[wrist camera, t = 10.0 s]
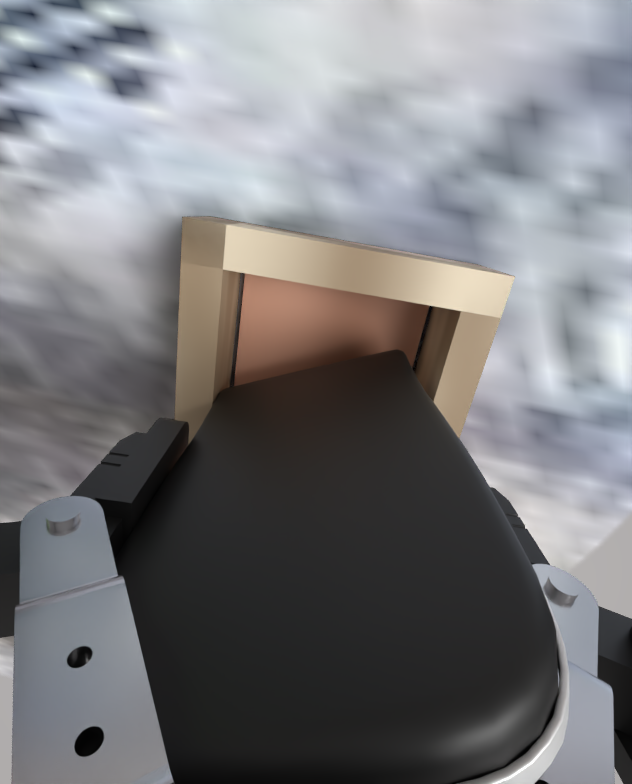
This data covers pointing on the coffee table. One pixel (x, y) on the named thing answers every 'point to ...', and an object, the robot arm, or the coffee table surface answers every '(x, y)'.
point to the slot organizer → (325, 312)
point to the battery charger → (341, 595)
